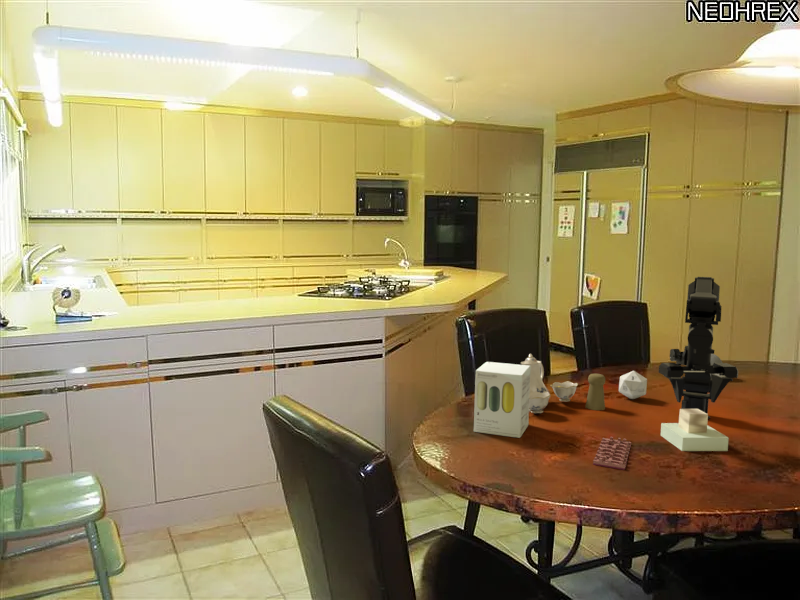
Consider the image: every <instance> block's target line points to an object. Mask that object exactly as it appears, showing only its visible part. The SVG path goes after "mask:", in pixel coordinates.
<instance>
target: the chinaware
mask: <svg viewBox="0 0 800 600" xmlns="http://www.w3.org/2000/svg"><path fill="white" fill-rule="evenodd" d="M520 365H528V366H531V371H530V394H529V413H530V412H531V413H532V414H542V413H544V409H545V408H546V407H547V406H548V404H549V400H550V398H551V393H550V391H549V389H548V388H547V386H546V385H545V384H544V382H543V379H544V373H545V371H544V370H545V369H544V365H543V363H542V360H537V358H535V357H534V356H533V354H532V353H529V354H528V356H527V357H526V358H525V360H524V361H521V362H520ZM578 385H579V383H578V382H575V383H573V382H572V381H569V380H568V381H564V382H558V381H555V382H553V383H552V384H549V386H550V387H551V388H552V389H553V392H554V395H555V396H556V397H558V398H559V401H560V402H570V401H571V398H572V397H573V396H574V395H575V393H576V390H577V387H578Z"/></svg>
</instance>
